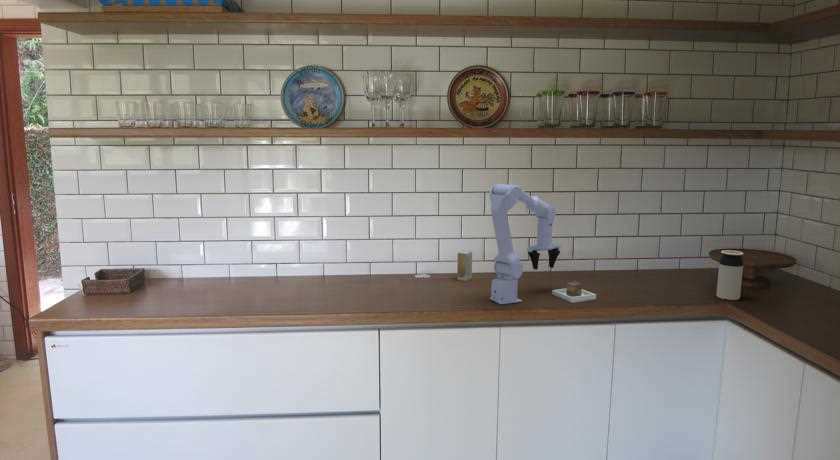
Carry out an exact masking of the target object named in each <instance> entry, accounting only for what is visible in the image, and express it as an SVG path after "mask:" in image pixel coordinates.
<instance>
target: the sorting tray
mask: <svg viewBox="0 0 840 460" xmlns="http://www.w3.org/2000/svg"><path fill="white" fill-rule="evenodd" d="M566 292H567V287H566V288H559V289H552V293H551V294H552V295H551V296H553V295H554V297H555V298H558V299H560V298H561V300H563V301H565V300H566V302H568V303H570V304H573V303H581V302H589V301H594V300H595V301H596V300H597V294H596V293H593V292H591V291H588V290H585V289H583V288H582V296H576V297H570V296H568V295H566Z"/></svg>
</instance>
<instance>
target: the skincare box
mask: <svg viewBox="0 0 840 460" xmlns="http://www.w3.org/2000/svg"><path fill="white" fill-rule="evenodd" d="M456 279H457V281H463V282H467V281H469V280H471V279H473V251H472V250H461V251H458V252H457V278H456Z"/></svg>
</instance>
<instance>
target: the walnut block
mask: <svg viewBox="0 0 840 460" xmlns="http://www.w3.org/2000/svg"><path fill="white" fill-rule="evenodd" d="M566 288H567V292H566V295H568V296H570V297H576V296H582V289H583V284H582V283H580V282H578V281H573V282H572V281H571V282H569V281H568V282H566Z"/></svg>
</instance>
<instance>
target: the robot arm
mask: <svg viewBox="0 0 840 460" xmlns="http://www.w3.org/2000/svg"><path fill="white" fill-rule="evenodd" d="M489 198H490V203H491V205H490V212H491V219H492V223H493V228H494V234H495V239H496V245H497V251H498V254H496V255H495V257H494V259H493V260H494V264H493V265H494V267H493V268H494V270H493V271H494V273H495V274H496V276H497V277H496V278H494V279H492V281H491V285H490V287H491V288H490V297H489V299H490V300H491V301H493V302H495V303H497V304H499V305H507V304H514V303H521V302H523V300H522V299H519V298H518V292H519V291H518V289H519V288H518V287H519V286H518V285H519V284H518V283H519V282H518V281H519V279H520V277H522V275H523V272H524V266H523V264H522V262H521V258H520V257H519V255H517V254H516V252H515V251H514V247H513V245H514V244H513V241H512V236H511V235H512V234H511V228H510V222H509V218H508V212H509V211H510V210H511V209H512V208H513V207H514V206H515V205H516V204H517V202H521V203H523V204H524V205H525V207H526V209H527V210H528V211H529V212H532V213H533V214H534V216H535V218H537V234H536V235H537V236H536V237H537V238H536V244H534V245H529V246H527V248H526V250H527V255H528V256H529V258H530V261H531V264H532V269H533V270H538V269H539V261H540V260H539V259H540V255H541V253H540V252H541V251H544V252H545V251H547V253H548V267H549V268H551V269H554V267H555V263H556V261H557V258H558V257H559V255H560V253H561V248H562V247H561V246H562V245H561V244H558V243H553V224H554V223H555V218H556V216H557V209H556V207H555V206H554V205H552V204H548V203H547V201H544V200H542V199H540V196H538V195H534V196H531V195H529V193H527V192H526V191H524V190H523V187H521V186H519V185H517V184H507V183H505V184H503V183H494V184H493V186H492V187H491V189H490V191H489Z"/></svg>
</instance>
